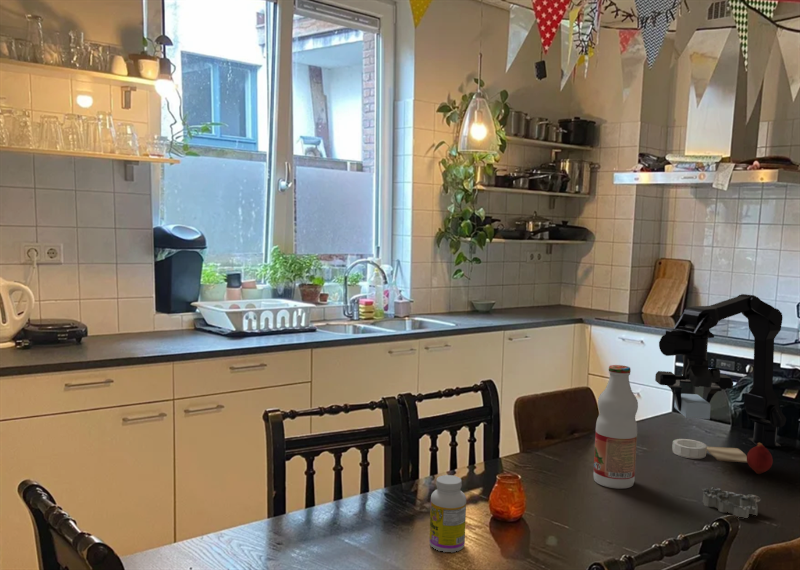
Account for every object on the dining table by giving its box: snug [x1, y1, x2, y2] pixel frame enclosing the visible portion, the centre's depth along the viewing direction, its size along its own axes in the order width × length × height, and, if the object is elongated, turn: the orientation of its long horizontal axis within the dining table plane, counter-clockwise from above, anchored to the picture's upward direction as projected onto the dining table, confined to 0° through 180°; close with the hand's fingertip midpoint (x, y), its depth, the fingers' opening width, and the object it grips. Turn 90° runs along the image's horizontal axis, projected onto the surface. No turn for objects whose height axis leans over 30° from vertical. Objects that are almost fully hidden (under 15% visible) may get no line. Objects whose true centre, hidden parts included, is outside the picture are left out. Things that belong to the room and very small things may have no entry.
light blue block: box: [674, 393, 712, 420], centre depth 186 cm, size 11×6×4 cm, turn 173°
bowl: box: [671, 438, 708, 460], centre depth 187 cm, size 8×8×3 cm
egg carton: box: [700, 486, 762, 519], centre depth 150 cm, size 11×8×4 cm
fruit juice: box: [593, 364, 639, 490], centre depth 163 cm, size 9×9×28 cm
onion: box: [746, 443, 774, 475], centre depth 172 cm, size 6×6×8 cm
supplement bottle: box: [428, 474, 467, 553], centre depth 128 cm, size 7×7×13 cm
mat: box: [707, 445, 747, 463], centre depth 187 cm, size 11×9×1 cm
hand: (691, 411), depth 186 cm, fingers closed on light blue block, 6 cm apart
